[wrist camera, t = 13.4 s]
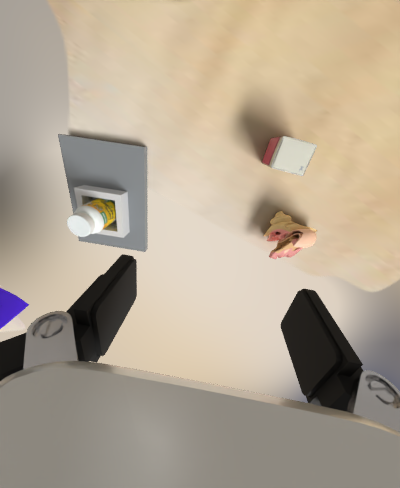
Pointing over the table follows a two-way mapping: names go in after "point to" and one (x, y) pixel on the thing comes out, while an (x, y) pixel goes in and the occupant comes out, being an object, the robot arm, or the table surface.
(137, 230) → the socket holder
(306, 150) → the small box
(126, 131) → the table surface
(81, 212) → the supplement bottle
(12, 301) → the bracket
